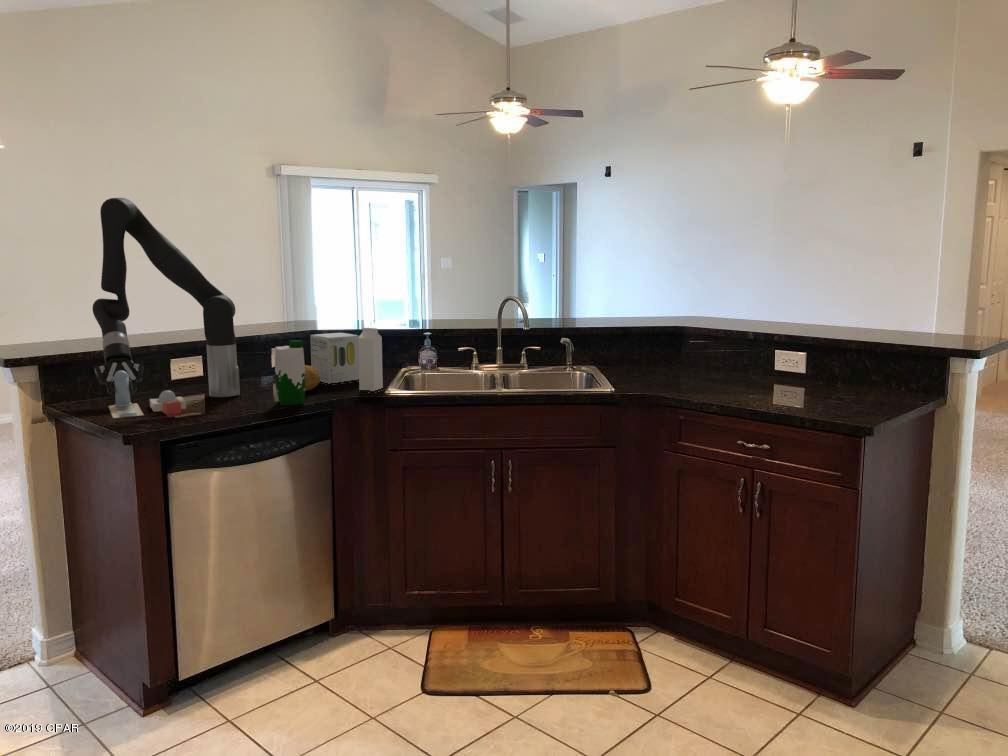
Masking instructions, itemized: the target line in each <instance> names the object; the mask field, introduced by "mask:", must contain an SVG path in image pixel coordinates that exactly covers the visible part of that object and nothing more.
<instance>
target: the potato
mask: <svg viewBox="0 0 1008 756" xmlns="http://www.w3.org/2000/svg"><path fill="white" fill-rule="evenodd" d="M304 365H305V391H307V392H309V390H310V391H311V390H313V389H315V388H316V387H318V386H319V383H320V376H319V373H318V371H317V370H316V369H315V368H314V367H312V366H311V365H308V364H304Z"/></svg>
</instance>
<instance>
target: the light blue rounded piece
mask: <svg viewBox="0 0 1008 756" xmlns="http://www.w3.org/2000/svg"><path fill="white" fill-rule="evenodd" d="M176 397H177V396H176V394H175V392H174V391H171V390H169V389H168V390H167V389H166V390H163V391H162V392H160V394H159V397H158V398H157V399H159V403H162V402H163V401H172V400H177V399H176Z"/></svg>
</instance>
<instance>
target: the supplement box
mask: <svg viewBox="0 0 1008 756" xmlns="http://www.w3.org/2000/svg"><path fill="white" fill-rule="evenodd" d="M309 337H310V360H311V361H310V362H311V364H310V366H312V367H314V368H315V369H316V370H317V371H318V373H319V376H320V381H321V382H324V383H328V384H330V383H338V382H344V381H351V380H358V379H359V352H358V337H359V335H357V334H352V333H348V332H347V333H346V332H331V333H330V332H329V333H318V334H317V333H316V334H310V336H309ZM324 383H323V384H324Z"/></svg>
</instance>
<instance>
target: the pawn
mask: <svg viewBox="0 0 1008 756" xmlns="http://www.w3.org/2000/svg"><path fill="white" fill-rule="evenodd" d="M113 384H114V394H115V395H114V396H115V403H114V405H115V407H129V406H132V404H133V403H132V402H131V391H130V390H131V389H130V381H129V376H128V374H127V372H125V371H123V370H120V371H117V372H116V373H115V374H114V380H113Z"/></svg>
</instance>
